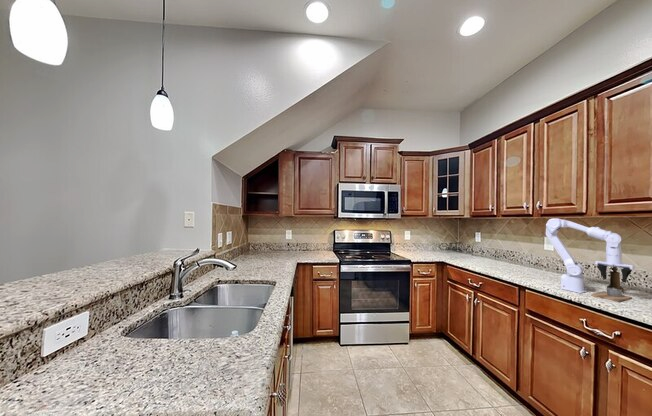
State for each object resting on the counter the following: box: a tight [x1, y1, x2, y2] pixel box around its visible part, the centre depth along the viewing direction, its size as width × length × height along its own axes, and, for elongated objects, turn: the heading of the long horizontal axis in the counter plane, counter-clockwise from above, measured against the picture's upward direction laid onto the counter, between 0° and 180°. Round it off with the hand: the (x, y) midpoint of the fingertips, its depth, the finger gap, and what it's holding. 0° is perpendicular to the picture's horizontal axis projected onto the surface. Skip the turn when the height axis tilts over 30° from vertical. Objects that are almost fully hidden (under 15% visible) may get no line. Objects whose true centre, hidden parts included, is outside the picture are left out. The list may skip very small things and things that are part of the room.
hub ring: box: [606, 287, 623, 297], centre depth 140 cm, size 5×5×4 cm
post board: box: [590, 289, 633, 303], centre depth 141 cm, size 11×14×5 cm
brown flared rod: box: [606, 265, 625, 293], centre depth 153 cm, size 7×6×18 cm
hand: (614, 280), depth 141 cm, fingers open, 7 cm apart
